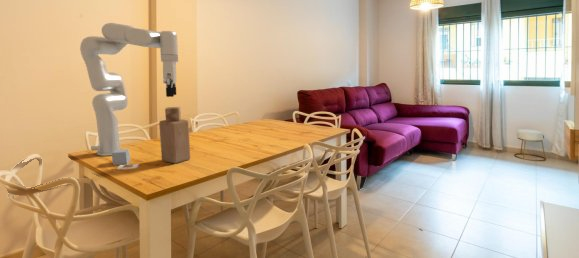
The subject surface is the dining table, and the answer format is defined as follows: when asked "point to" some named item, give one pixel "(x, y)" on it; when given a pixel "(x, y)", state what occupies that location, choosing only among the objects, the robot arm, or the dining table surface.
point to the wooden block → (174, 141)
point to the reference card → (128, 166)
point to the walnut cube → (173, 114)
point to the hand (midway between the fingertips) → (171, 95)
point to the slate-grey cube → (121, 157)
